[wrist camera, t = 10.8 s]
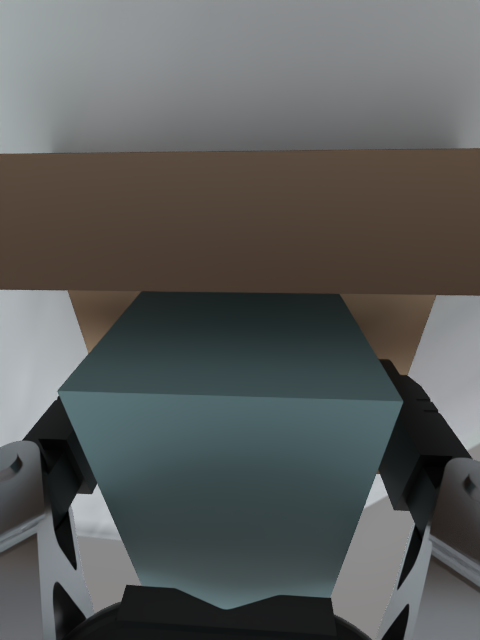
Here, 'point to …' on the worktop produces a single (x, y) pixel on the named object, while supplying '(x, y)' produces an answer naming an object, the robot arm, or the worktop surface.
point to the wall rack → (247, 230)
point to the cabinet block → (234, 438)
